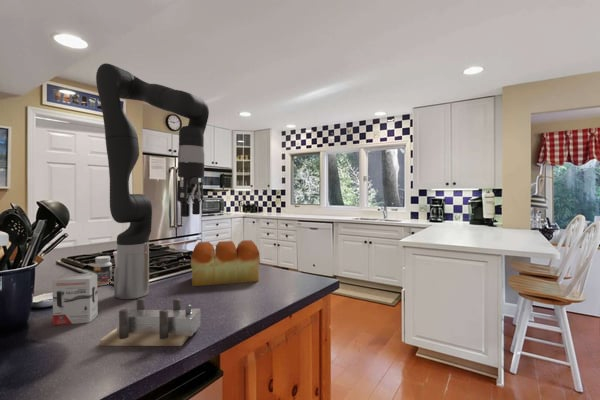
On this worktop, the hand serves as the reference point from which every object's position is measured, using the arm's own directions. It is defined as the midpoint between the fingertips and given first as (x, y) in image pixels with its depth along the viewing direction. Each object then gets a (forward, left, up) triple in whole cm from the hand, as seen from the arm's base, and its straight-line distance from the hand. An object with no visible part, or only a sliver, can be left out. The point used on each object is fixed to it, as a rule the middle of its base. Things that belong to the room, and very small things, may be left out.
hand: (190, 215), depth 91 cm
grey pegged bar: (0, -21, -26) cm, 33 cm away
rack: (-2, -21, -27) cm, 34 cm away
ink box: (-26, -13, -27) cm, 39 cm away
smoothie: (-40, +31, -27) cm, 57 cm away
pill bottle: (-40, +19, -27) cm, 52 cm away
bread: (+4, +26, -27) cm, 38 cm away
